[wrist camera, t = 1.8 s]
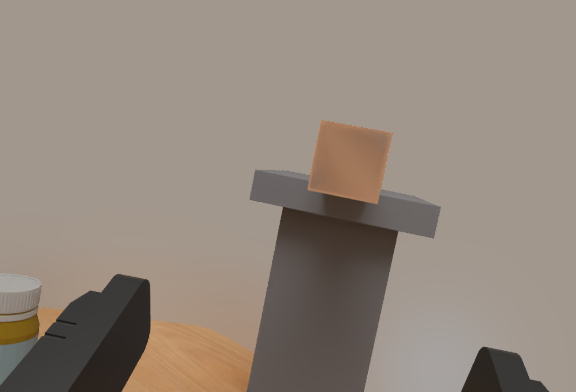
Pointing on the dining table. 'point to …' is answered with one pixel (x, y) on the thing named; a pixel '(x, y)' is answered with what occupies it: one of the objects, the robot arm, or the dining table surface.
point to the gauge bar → (349, 161)
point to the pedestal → (327, 282)
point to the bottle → (17, 319)
